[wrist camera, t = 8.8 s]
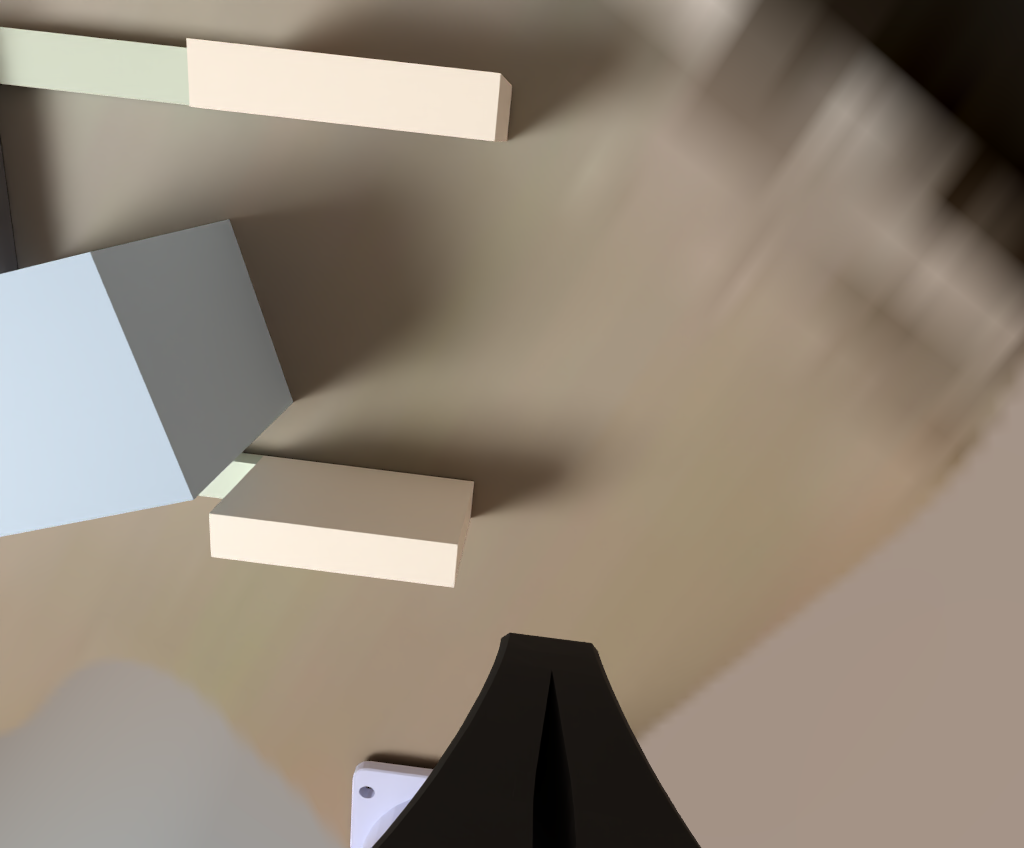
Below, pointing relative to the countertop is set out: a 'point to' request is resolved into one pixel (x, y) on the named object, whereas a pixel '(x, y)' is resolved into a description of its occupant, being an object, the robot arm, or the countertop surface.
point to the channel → (327, 98)
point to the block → (130, 377)
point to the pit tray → (5, 227)
